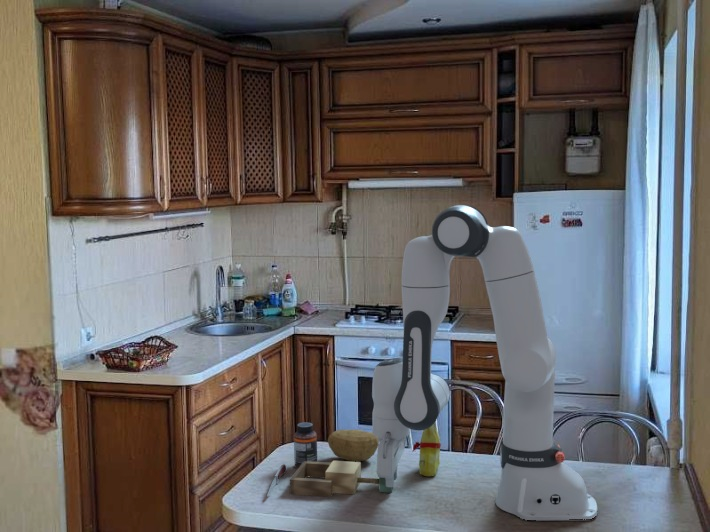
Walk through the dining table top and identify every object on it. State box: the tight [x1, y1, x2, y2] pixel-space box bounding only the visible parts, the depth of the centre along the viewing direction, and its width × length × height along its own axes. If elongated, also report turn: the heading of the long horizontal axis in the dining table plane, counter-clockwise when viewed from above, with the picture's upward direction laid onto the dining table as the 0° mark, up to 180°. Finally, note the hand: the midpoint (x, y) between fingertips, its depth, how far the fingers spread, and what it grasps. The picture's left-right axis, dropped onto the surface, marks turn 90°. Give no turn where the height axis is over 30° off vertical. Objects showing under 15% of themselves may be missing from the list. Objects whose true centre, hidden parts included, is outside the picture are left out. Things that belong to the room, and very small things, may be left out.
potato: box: [327, 429, 380, 462], centre depth 217 cm, size 10×14×8 cm
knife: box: [266, 463, 287, 497], centre depth 200 cm, size 20×1×3 cm, turn 174°
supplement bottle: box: [293, 421, 318, 470], centre depth 212 cm, size 6×6×11 cm
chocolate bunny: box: [412, 422, 442, 477], centre depth 208 cm, size 7×11×15 cm, turn 167°
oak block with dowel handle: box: [324, 460, 394, 495], centre depth 197 cm, size 16×8×5 cm, turn 79°
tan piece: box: [289, 461, 333, 498], centre depth 199 cm, size 10×13×4 cm
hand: (391, 482), depth 196 cm, fingers closed on oak block with dowel handle, 3 cm apart
